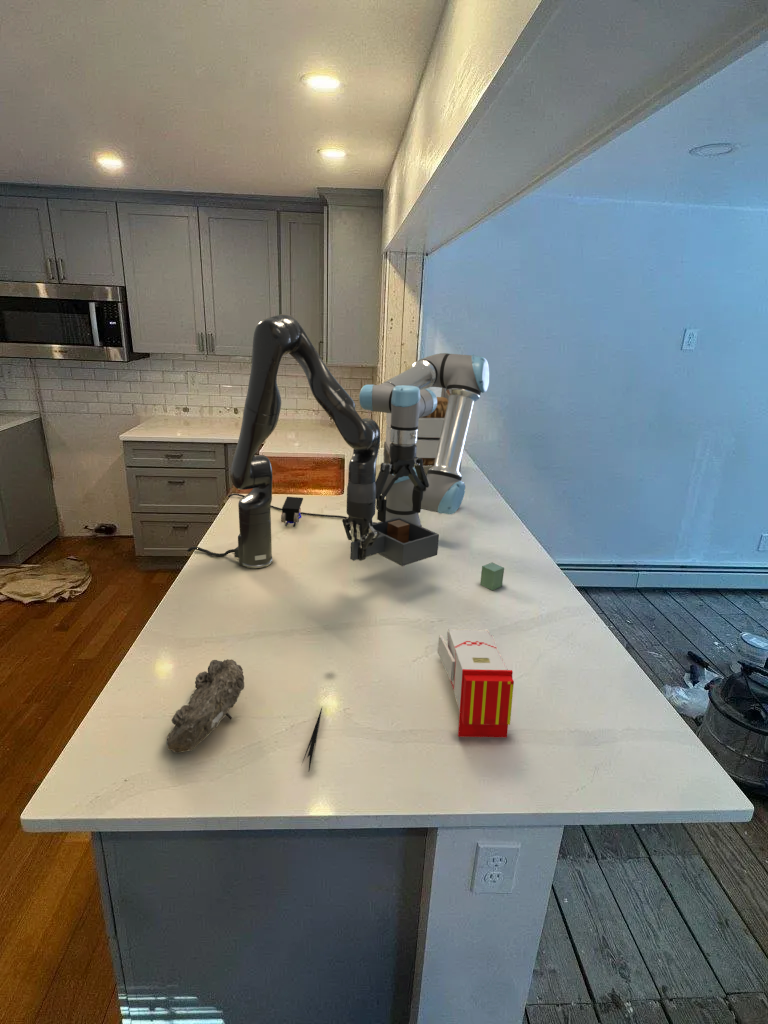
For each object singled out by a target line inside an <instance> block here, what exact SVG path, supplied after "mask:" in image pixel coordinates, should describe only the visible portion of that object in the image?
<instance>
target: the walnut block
mask: <svg viewBox="0 0 768 1024" xmlns="http://www.w3.org/2000/svg"><path fill="white" fill-rule="evenodd" d="M409 526H410V524H408V523H405V522H403V521H401V520H396V521H392V522H388V527H387V536H389V537H392V538H394V539H396V540H398V541H400V542H402V543H406V542H408V539H409Z"/></svg>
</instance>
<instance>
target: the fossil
mask: <svg viewBox="0 0 768 1024" xmlns="http://www.w3.org/2000/svg"><path fill="white" fill-rule="evenodd" d="M243 670H244V669H243V667H242V665H240V664H237V662H236V661H235V660H234V659H232V658H231V659H227V658H226V659H224V660H223V661H222V660H217V659H212V660H211V661H210V663H209V665H208V666H207V671H201V672H199V673H198V674H197V675H196V676H195V680H194V684H195V685H194V687H195V689H194V690H193V693H192V694H191V697H190V698H189V700H188V704H184V705H182V706H181V707H180V709H177V710H176V711H175V713H174V715H173V716H172V718H171V723H172V724H173V727H172V730H171V731H170V732H168V734H167V738H166V741H167V742H166V745H167V749H168V750H169V751H173V752H174V753H176V754H178V753H182V752H188V751H189V752H192V751H193V750H195V748H196V747H197V746H199V744H200V743H201V742H203V741H204V740H205V739H206V738H207V737H208V736H209V735H210V734H211V733H212V732H214V730H215V729H217V727H218V726H219V724H220V722H221V721H222V720H223V719H224V718H225V716H226V717H227V719H229V720H233V717H232V715H230V714H229V710H230V709H231V708H234V706H235V704H236V703H237V702H238V699H239V697H240V695H241V693H242V691H243V690H245V689H244V688H245V675H244V671H243Z"/></svg>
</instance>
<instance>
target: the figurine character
mask: <svg viewBox="0 0 768 1024" xmlns="http://www.w3.org/2000/svg"><path fill="white" fill-rule="evenodd" d="M303 501H304V497H297V496H286V499H285V500H284V502H283V505H282V507H281V508H282V510H281V515H280V523H283V524H284V523H285V525H284V526H285V527H288V525H289V524H290V525H292V527H293V528H295V527H296V524H297V523H299V520H300V519H302V518H303V517H302V514H301V512H302V509H301V506H302V503H303Z"/></svg>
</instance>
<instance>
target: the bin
mask: <svg viewBox="0 0 768 1024" xmlns="http://www.w3.org/2000/svg"><path fill="white" fill-rule="evenodd" d="M396 520H401V521H403V522H405V523H408V524H410V526H409V539H408V542H406V543H402V542H400V541H398V540H396V539H394V538H392V537H389V536H387V527H388V522H392V521H396ZM373 528H374V530H375V531H379V536H378V537H377V539H376V541H375V542H374V544H373V546H371V547H367V551H366V558H368V557H371V556H375V555H377V554H378V555H380V556H381V557H383V558H385V559H388V560H389V561H391V562H393V563H394V564H396V565H399V566H401V567H405V566H408V565H410V564H414V563H417V562H420V561H423V560H426V559H429V558H432V557H435V556H438V554H439V553H438V550H439V540H440V534H439V533H438V532H435V531H433V530H430V529H428V528H426V527H423V526H422V527H421V526H419V525H416V524H414V523H412V522H409V521H407V520H405V519H403V518H400V517H398V518H394V519H390V520H386V521H385V522H381V521H379V522H377V523H374V524H373ZM363 543H364V540H363ZM358 547H359V546H358V541H354V542H351V541H350V554H349V559H350V560H351V561H353V562H354V561H355V562H356V561H359V560H358Z"/></svg>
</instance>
